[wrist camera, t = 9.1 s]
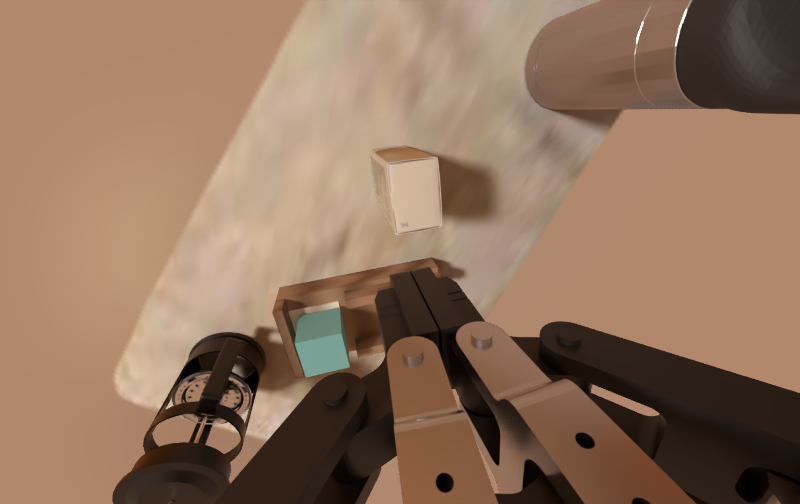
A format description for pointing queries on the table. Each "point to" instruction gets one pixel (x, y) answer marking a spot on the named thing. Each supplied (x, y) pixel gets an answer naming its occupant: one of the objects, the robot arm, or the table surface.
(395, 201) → the skincare box
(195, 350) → the french press
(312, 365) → the block
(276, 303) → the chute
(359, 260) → the table surface
